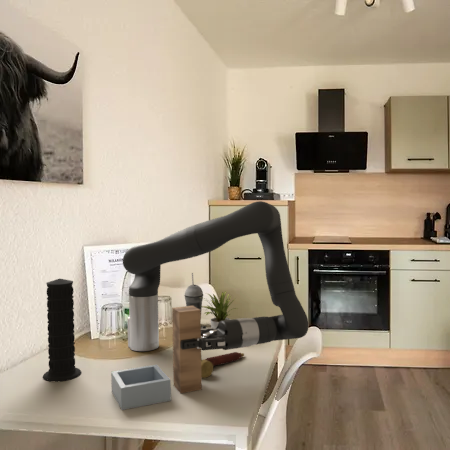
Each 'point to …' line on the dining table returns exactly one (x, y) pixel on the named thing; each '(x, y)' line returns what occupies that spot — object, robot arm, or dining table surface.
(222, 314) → the house plant
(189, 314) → the walnut handle block
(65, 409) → the dining table surface
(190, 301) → the beverage cup
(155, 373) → the box
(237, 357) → the gavel
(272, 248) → the robot arm
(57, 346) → the handle grip
